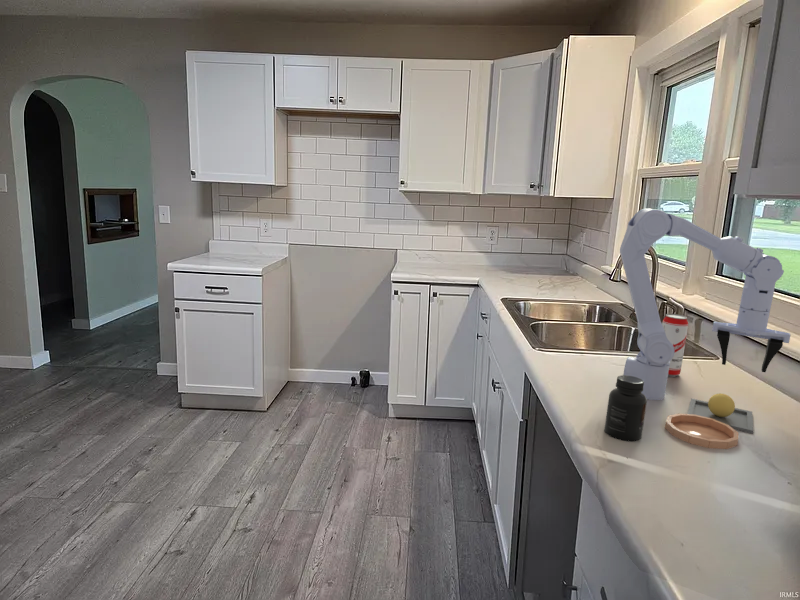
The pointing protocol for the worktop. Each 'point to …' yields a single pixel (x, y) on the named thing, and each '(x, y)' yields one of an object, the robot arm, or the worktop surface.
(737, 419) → the tray
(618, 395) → the supplement bottle
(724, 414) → the ball
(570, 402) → the worktop surface
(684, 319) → the beer can
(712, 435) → the bowl
